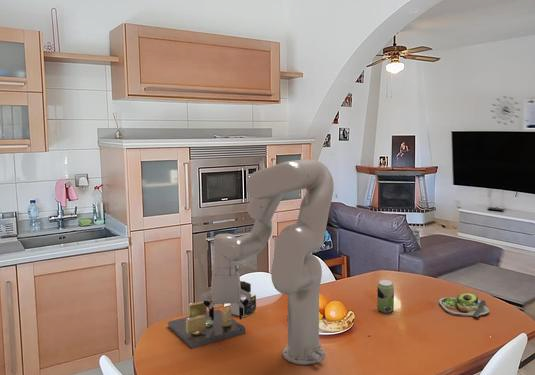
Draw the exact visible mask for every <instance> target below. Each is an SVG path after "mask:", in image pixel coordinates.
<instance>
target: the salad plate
mask: <svg viewBox="0 0 535 375" xmlns="http://www.w3.org/2000/svg"><path fill="white" fill-rule="evenodd" d="M438 303H439V304H438V305H440V307H442V309H443V310H444V311H446V312H447V313H449V314H451V315H454V316H458V317H471V318H473V317H475V318H479V316H483V315H486V314H489V313H490V310H489V308H488V307H487V306H486V303H487V302H486V300H483V299H481V300H479V297H478V296H477V294H475V293H473V292H462V293H460V294H458V296H457V297H446V296H445V297H442V298H439V300H438ZM450 309H452V310H450ZM453 310H456V311H453ZM458 311H459V312H458Z"/></svg>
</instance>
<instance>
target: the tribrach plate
mask: <svg viewBox="0 0 535 375" xmlns="http://www.w3.org/2000/svg"><path fill="white" fill-rule="evenodd" d="M222 313H223V311H221V310H220V309H214V320H212V321H211V317H209V311H207V314H204V316H205V317H206V329H205V330H202V331H201V334H199V335H192V334H191V333H190V334H188V333H186V319H187V318H190V317H188V316H186V317H183V318H179V319H175V320H170V321H168V322H167V324H168V328H169V329H170V330H171V332H173V333H174V334H175V335H176V336H177V337H178V338H179V339H180V340H182V342H184V344H186V345H187V346H188V347H189V348H190V349H195V348H198V347H202V346H205V345H209V344H211V343H215V342H216V343H217V342H219V341H223V340H226V339H229V338H234V337H236V336H240V335H244V334H246V327H245V326H244V325H243V324H241V323H239V322H238V321H237V320H235V319H233V318H232V317H231V320H230V321H231V326H229V327H224V326H222ZM192 318H193V317H192Z"/></svg>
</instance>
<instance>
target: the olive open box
mask: <svg viewBox="0 0 535 375" xmlns="http://www.w3.org/2000/svg"><path fill="white" fill-rule="evenodd" d="M207 309H208V308H207V306H206V305H205V304H204V303H203V301H202V300H201V301H198V302H192V303H191V302H190V303H188V304H187V315H188V316H187V317H190V318H192V317H197V316H201V315H204V314H207V312H208V310H207Z"/></svg>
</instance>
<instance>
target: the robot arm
mask: <svg viewBox="0 0 535 375" xmlns="http://www.w3.org/2000/svg"><path fill="white" fill-rule="evenodd" d="M334 183H335V182H334V179H333V176H332V173H331V171H330V170H329V168H328V167H327V166H326V165H325V164H324V163H323V162H321V161H318V160H316V159H309V158H307V159H296V160H288V161H283V162H280V163H276V164H274V165H272V166H268V167H266V168H262V169H260V170H256V171H253V172H252V173H251V174H250V175H249V177H248V179H247V181H246V191H247V194H248V196H250V197H251V199H250V201H249V203H248V205H247V208H246V210H247V214H248V215H249V216H250V218H252V219H253V220H255V221H254V224H253V226H252V228H251V230H250V232H249V233H248V234H244V235H241V236H237V237H236V236H235V235H234V234H232V233H218V234H216V235H214V237H213V263H214V264H213V271H214V272H213V273H212V274H211V281H210V285H211V286H210V287H211V288H210V290H209V291H206V292H205V293H203V294H201V295H200V299H201V301H203V303H204V304H205V305H206V308H207V309H208V312H209V317H211V321H212V320H214V310H215V308H214V306H215V305H216V304H217V305H219V304H220V305H222V304H223V305H224V304H226V305H227V304H230V303H237V304H238V305H239V316H238V317H239V320H242V318H243V317H242V316H244V315H243V308H244V306H245V305H246V304H247V303H248V301H249V300H250V298H251V294H250V293H248V292H246V291H244V290H242V289H241V286H240V281H241V278H240V273H239V272H238V271H241V266H240V265H237V262H240V261H244V260H246V259H248V258H252V257H254V256H257V255H259V254H261V253H262V251H264V249H265V247H266V245H267V243H268V242H269V240H270V238H271V236H272V233H273V232H272V231H273V221H272V218H273V217H274V214H275V212H276V211H277V209H278V207H279V205H280V203H281V202H282V200H283V197H284V195H285V194H287V193H291V192H295V191H302V190H306V191H305V194H304V195H303V197H302V199H301V200H302V201H301V202H300V205H299V212H298V217H297V219H296V222H295V223H292V224H290V225H288V226H285V227H284V228H283V229H282V230H281V231H280V232H279V234H278V236H277V238H276V242H275V243H276V244H275V248H274V254H273V260H272V266H271V272H270V273H271V274H270V275H271V276H270V278H271V283H272V286H273V287H274V288H275V290H276V291H277V292H279V293H280V294H282V295H287V345H286V346H285V347H284V348H283V350H282V356H283V358H284V359H285V360H286V361H287V362H289V363H292V364H295V365H302V366H304V365H313V364H317V363H321V362H322V361H323V359H324V358H325V356H326V353H325V350H324V349H323V348H322V345H321V343H320V290H321V289H320V288H321V284H322V283H321V281H322V275H323V271H322V269H323V268H322V264H321V262H320V260H319V258H318V257H317V256H315V255H314V254H312V253H315V252H317V251H318V250H319V249H320V248H322V246H323V244H324V240H325V236H326V230H327V224H328V220H329V214H330V207H331V205H332V200H333V197H334V195H333V194H334V188H335V187H334V186H335V185H334ZM241 294H242V295H244V296H246V299H245V300H244V301H242V300H241ZM208 297H210V300H211V301H208V300H207V298H208Z"/></svg>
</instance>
